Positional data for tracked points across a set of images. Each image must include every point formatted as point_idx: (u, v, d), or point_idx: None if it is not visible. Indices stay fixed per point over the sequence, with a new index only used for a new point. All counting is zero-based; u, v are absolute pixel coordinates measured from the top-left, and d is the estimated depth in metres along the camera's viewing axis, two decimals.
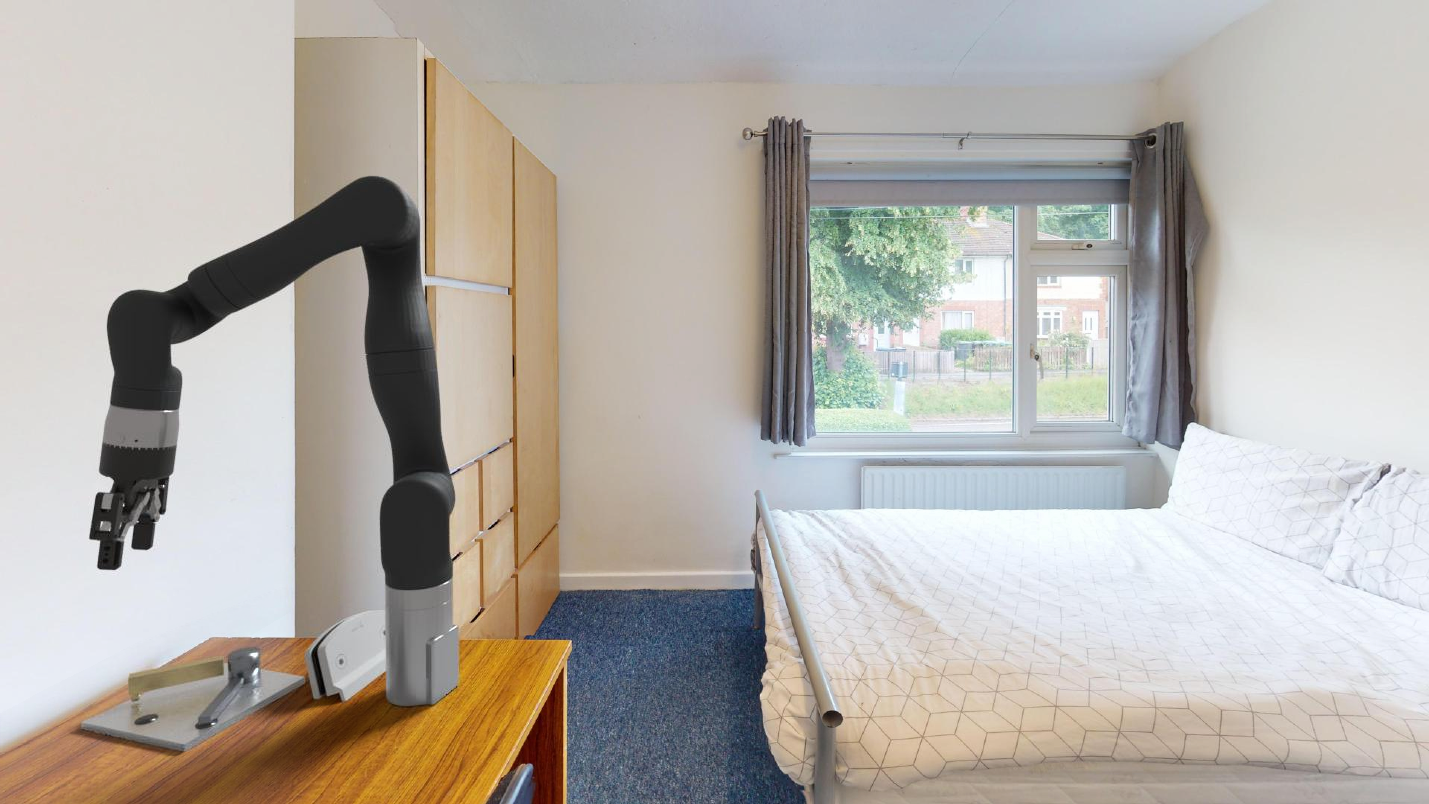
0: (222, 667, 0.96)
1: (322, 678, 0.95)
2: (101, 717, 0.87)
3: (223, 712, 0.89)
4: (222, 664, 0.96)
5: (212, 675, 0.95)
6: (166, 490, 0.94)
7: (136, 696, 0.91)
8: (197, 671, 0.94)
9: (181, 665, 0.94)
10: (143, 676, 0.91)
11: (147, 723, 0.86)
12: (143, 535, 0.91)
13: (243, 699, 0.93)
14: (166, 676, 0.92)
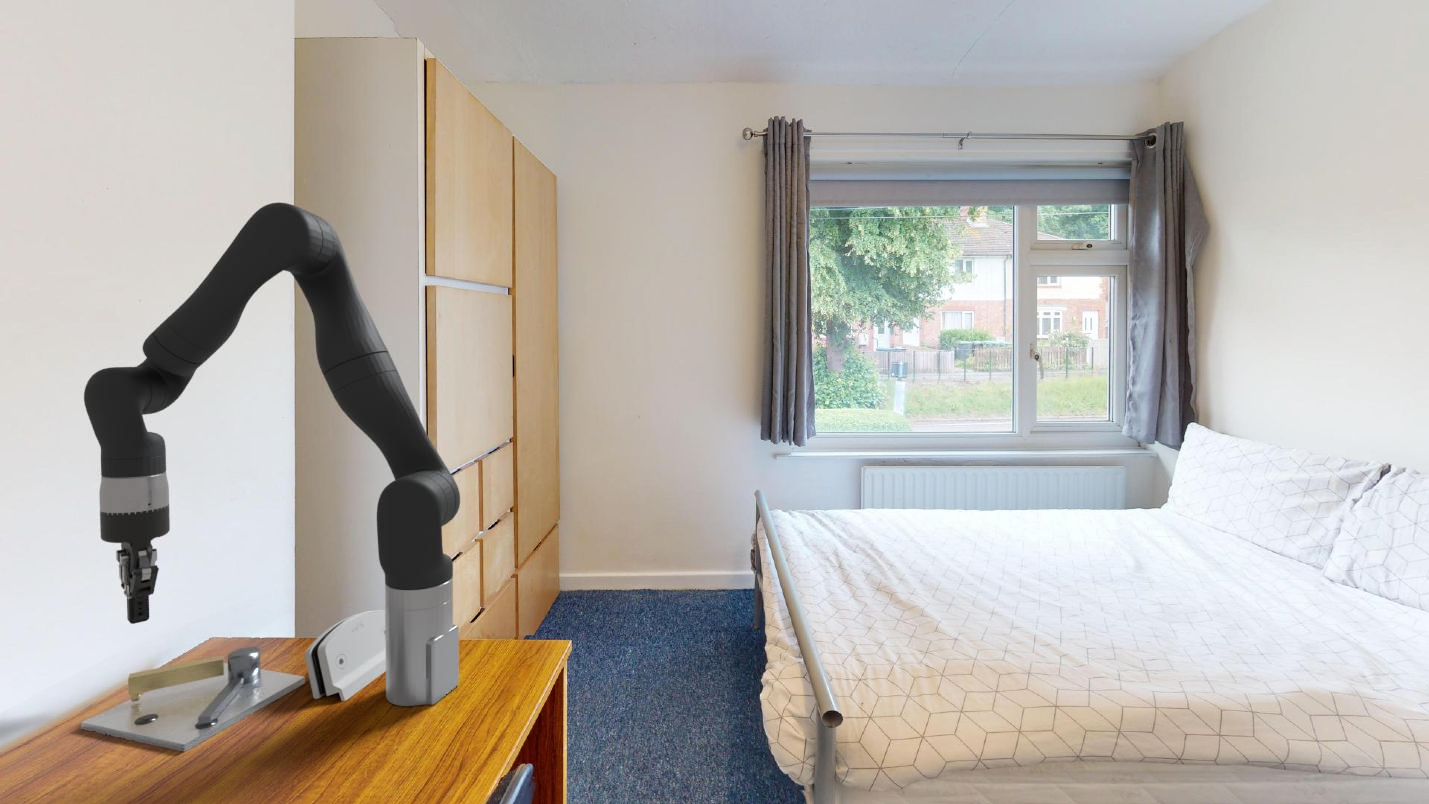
0: (222, 667, 0.96)
1: (322, 678, 0.96)
2: (101, 717, 0.87)
3: (223, 712, 0.89)
4: (222, 664, 0.96)
5: (212, 675, 0.95)
6: None
7: (136, 696, 0.91)
8: (197, 671, 0.94)
9: (181, 665, 0.94)
10: (143, 676, 0.91)
11: (147, 723, 0.86)
12: None
13: (243, 699, 0.93)
14: (166, 676, 0.92)
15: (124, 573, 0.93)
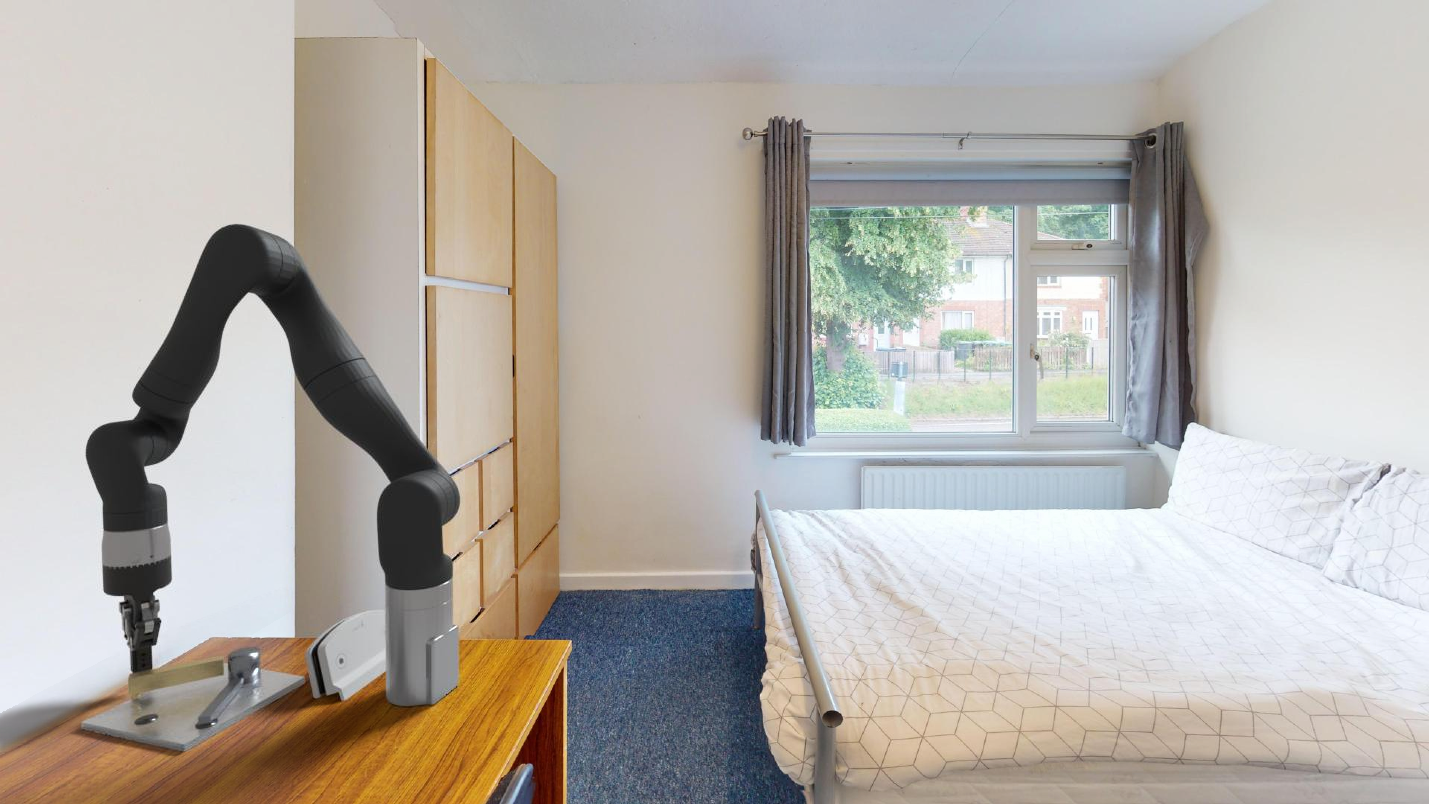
0: (222, 667, 0.96)
1: (322, 677, 0.96)
2: (101, 717, 0.87)
3: (223, 712, 0.89)
4: (222, 664, 0.96)
5: (212, 675, 0.95)
6: None
7: (136, 696, 0.91)
8: (197, 671, 0.94)
9: (181, 665, 0.94)
10: (143, 676, 0.91)
11: (147, 723, 0.86)
12: None
13: (243, 699, 0.93)
14: (166, 676, 0.92)
15: (127, 625, 0.93)
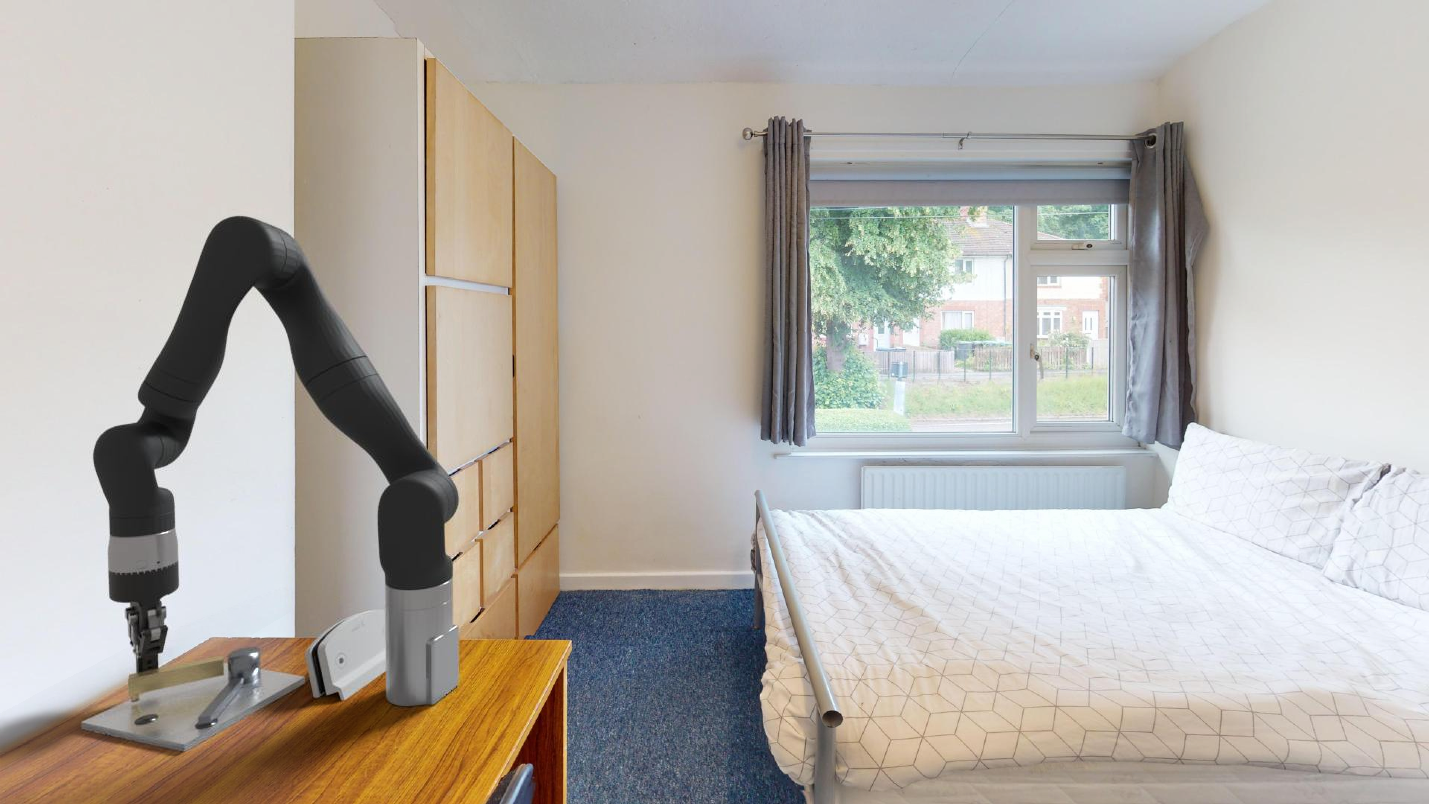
0: (222, 667, 0.96)
1: (322, 677, 0.96)
2: (101, 717, 0.87)
3: (223, 712, 0.89)
4: (222, 664, 0.96)
5: (212, 675, 0.95)
6: None
7: (136, 697, 0.91)
8: (197, 671, 0.94)
9: (181, 665, 0.94)
10: (143, 676, 0.91)
11: (147, 723, 0.86)
12: None
13: (243, 699, 0.93)
14: (166, 676, 0.92)
15: (133, 632, 0.91)
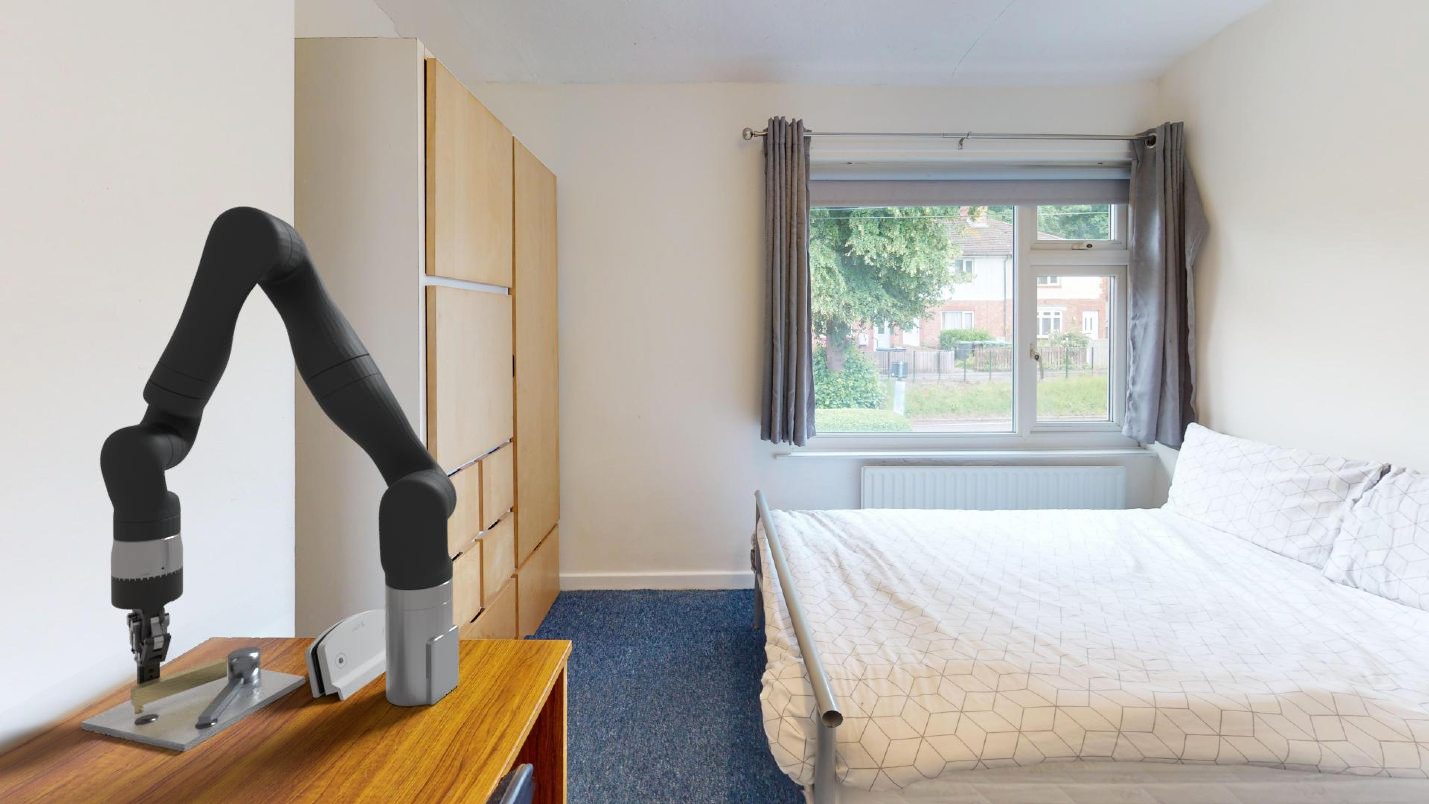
0: (226, 669, 0.96)
1: (321, 677, 0.96)
2: (101, 717, 0.87)
3: (223, 712, 0.89)
4: (225, 666, 0.96)
5: (216, 678, 0.95)
6: None
7: (141, 708, 0.88)
8: (202, 675, 0.93)
9: (184, 671, 0.92)
10: (149, 686, 0.88)
11: (147, 723, 0.86)
12: None
13: (243, 699, 0.93)
14: (172, 683, 0.90)
15: (135, 640, 0.88)
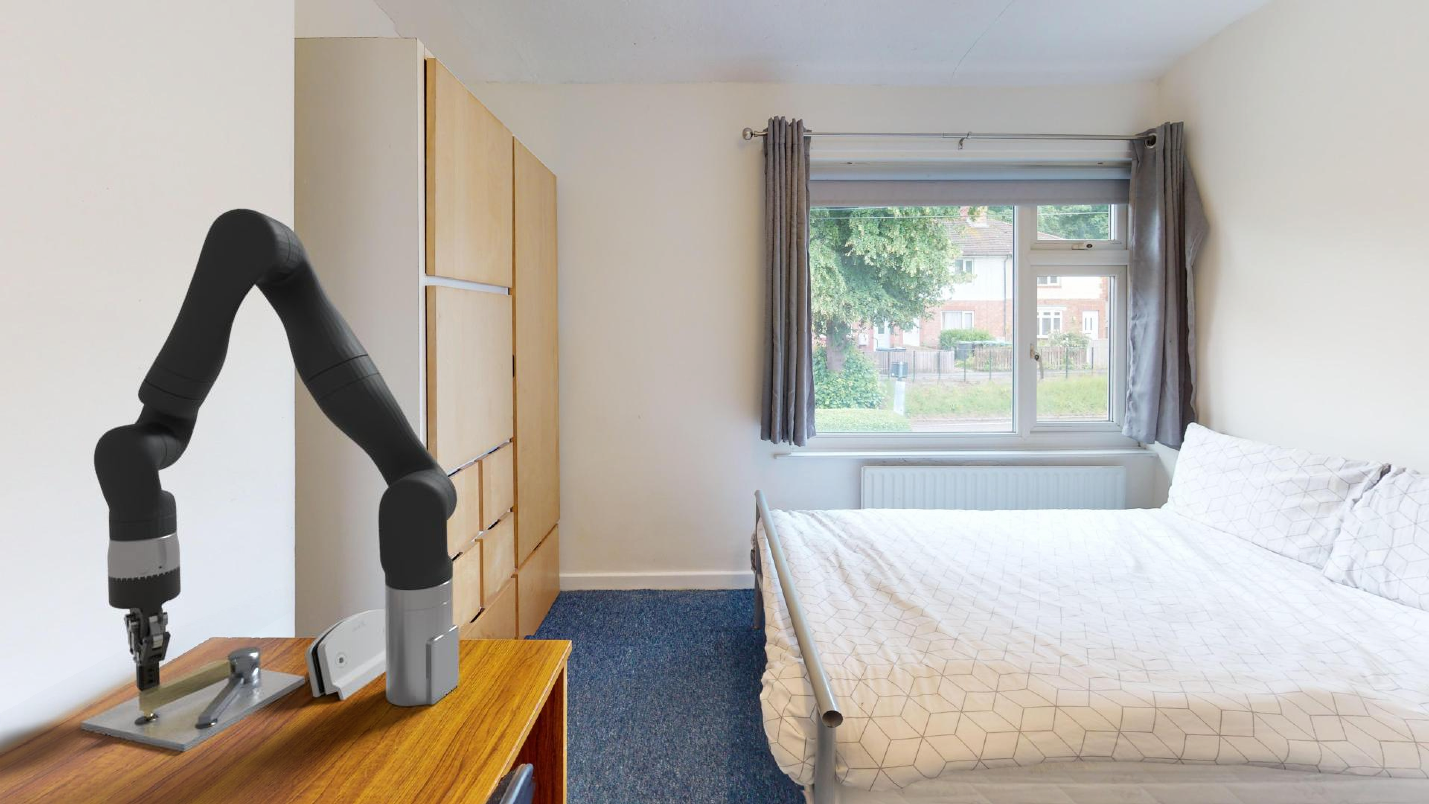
0: (229, 669, 0.96)
1: (322, 676, 0.96)
2: (101, 717, 0.87)
3: (223, 712, 0.89)
4: (229, 666, 0.96)
5: (221, 679, 0.95)
6: None
7: (151, 713, 0.87)
8: (208, 677, 0.93)
9: (190, 674, 0.91)
10: (160, 690, 0.87)
11: (147, 723, 0.86)
12: None
13: (243, 699, 0.93)
14: (180, 686, 0.90)
15: (134, 640, 0.88)
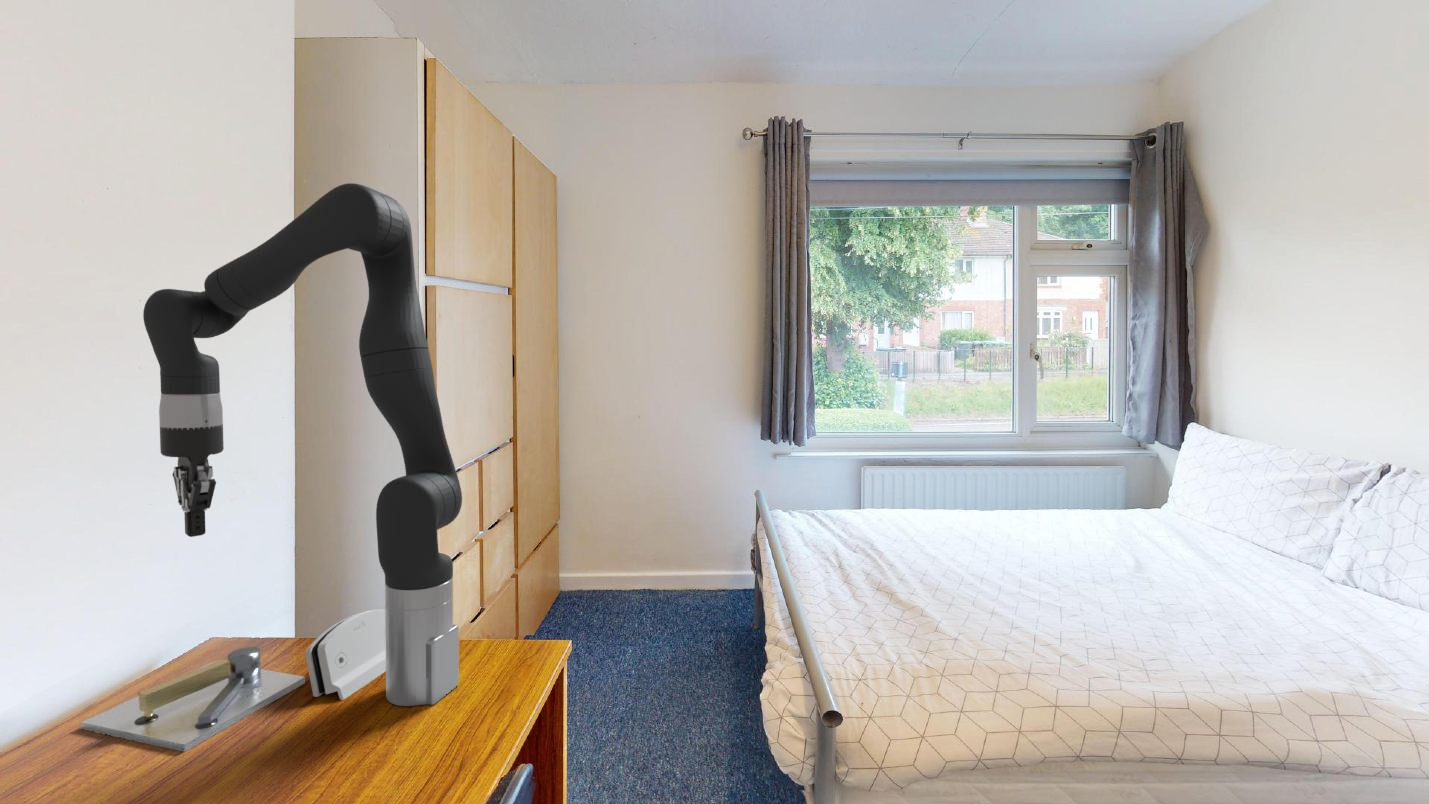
0: (229, 669, 0.96)
1: (321, 676, 0.96)
2: (101, 717, 0.87)
3: (223, 712, 0.89)
4: (229, 666, 0.96)
5: (221, 679, 0.95)
6: None
7: (151, 713, 0.87)
8: (208, 677, 0.93)
9: (190, 674, 0.91)
10: (160, 690, 0.87)
11: (147, 723, 0.86)
12: None
13: (243, 699, 0.93)
14: (180, 686, 0.90)
15: (183, 487, 0.97)
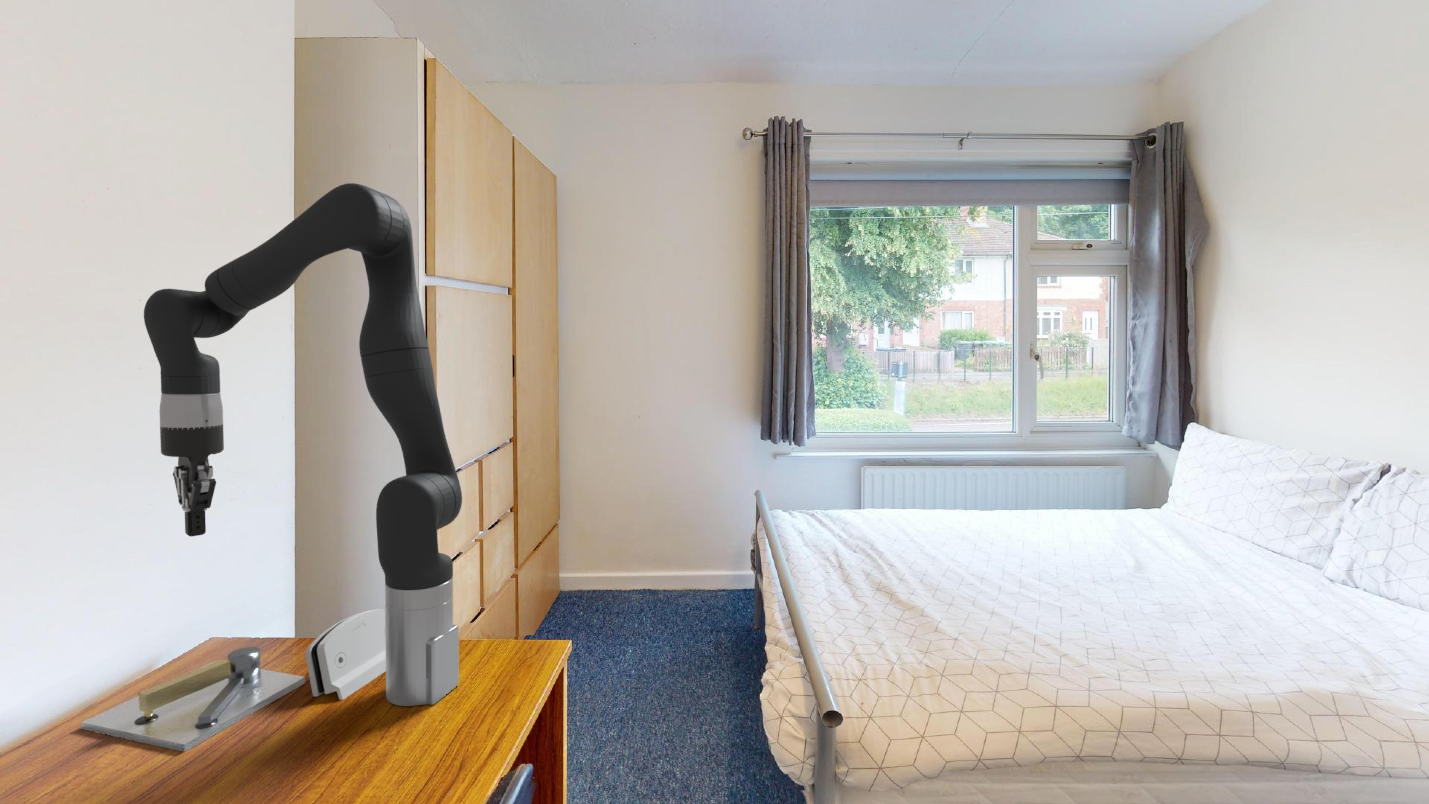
0: (229, 669, 0.96)
1: (321, 676, 0.96)
2: (101, 717, 0.87)
3: (223, 712, 0.89)
4: (229, 666, 0.96)
5: (221, 679, 0.95)
6: None
7: (151, 713, 0.87)
8: (208, 677, 0.93)
9: (190, 674, 0.91)
10: (160, 690, 0.87)
11: (147, 723, 0.86)
12: None
13: (243, 699, 0.93)
14: (180, 686, 0.90)
15: (183, 487, 0.97)
